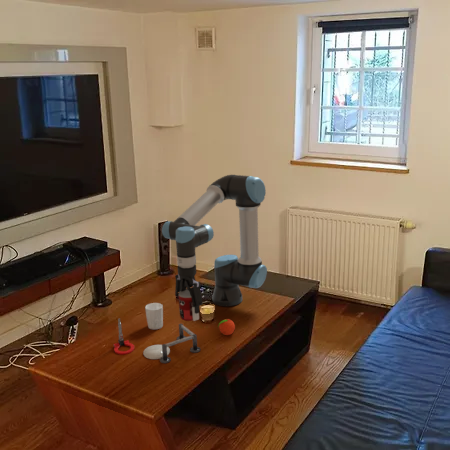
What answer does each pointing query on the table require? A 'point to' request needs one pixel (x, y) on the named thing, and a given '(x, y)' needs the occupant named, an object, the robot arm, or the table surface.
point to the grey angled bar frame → (180, 339)
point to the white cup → (154, 315)
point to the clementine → (227, 327)
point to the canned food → (185, 305)
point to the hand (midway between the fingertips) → (189, 316)
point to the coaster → (154, 352)
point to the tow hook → (122, 342)
